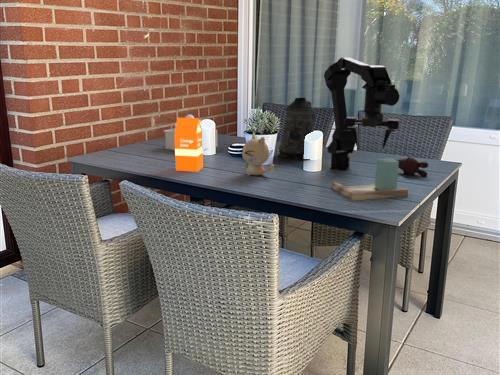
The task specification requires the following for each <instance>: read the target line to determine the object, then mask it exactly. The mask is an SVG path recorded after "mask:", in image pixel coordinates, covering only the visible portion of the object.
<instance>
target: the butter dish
mask: <svg viewBox="0 0 500 375" xmlns="http://www.w3.org/2000/svg"><path fill="white" fill-rule="evenodd" d="M184 118H195V117H194V115H193V114H189V113H188V114H187V115H186V116H184ZM199 121H200V123H201V121H202V120H200V119H199ZM176 123H177V121H176V122H175V123H174V128H170V129H166V130H163V133H164V139H165V140H164V144H165V146H164V147H165V149H166V150H170V149H171V151H175V135H174V133H175V129H176ZM214 129H215V133H216V147H215V148H217V147H218V129H217V128H214Z"/></svg>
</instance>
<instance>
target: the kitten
mask: <svg viewBox="0 0 500 375" xmlns="http://www.w3.org/2000/svg"><path fill="white" fill-rule="evenodd" d="M265 140H266V139H265V137H264V136H262V137H260V138H258V137H257V136H256V133H255V132H253V133H252V134H251V139H249V140H248V141H246V142H245V144H244V145H243V147H242V149H241V153H242V154H241V156H242V159H243V160H244V161H245V166H246V169H245V170H246V171H245V173H246V175H247V176H249V177H250V176H260V175H263V174H268V173H271V171H273V170H274V168H275V165H274V163H271V164H269V166H268V167H267V168H266V169H265V168H264V166H263V165H264V164H265V163H266V162H268V160H269V159H270V158H269V157H270V150H269V146H268V145H267V143H266V141H265Z"/></svg>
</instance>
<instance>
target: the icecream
mask: <svg viewBox="0 0 500 375" xmlns="http://www.w3.org/2000/svg"><path fill="white" fill-rule="evenodd" d="M395 160H396V161H399V165H398V169H400V170H401V171H402V172H403V175H409V176H410V175H415V174H416V173H417V174H418V175H419V176H421V177H427V176H428V172H427V171H425V170H423V169H426V168H428V167H429V163H428V162H426V161H422V162H421V161H420V162H419V161H418V160H417V159H415V158H414V157H411V156H408V157H406V158H400V159H395ZM420 168H421V169H420Z"/></svg>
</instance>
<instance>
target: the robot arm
mask: <svg viewBox="0 0 500 375" xmlns="http://www.w3.org/2000/svg"><path fill="white" fill-rule="evenodd" d="M351 73H354V74H356V75H359V76H360V79H361V80H362V81H363V82H365V84H364V85H362V89H365V94H364V96H365V97H364V108H363V113H362V117H361V119H359V118H358V116H348V113H347V105H346V94H345V88H346V85H347V84H348V78H349V77H350V76H351ZM323 77H324V81H325V86H326V87H327V89H328V90H329V91H330V92H331V101H332V111H333V118H334V128H335V129H334V131H333V133H332V136H331V138H332V141H330V144H329V145H328V146H327V152H328V153H329V154H331V159H330V160H331V161H330V167H329V170H338V171H348V169H349V168H350V167H351V166H350V165H351V164H350V163H351V156H350V154H353V153H354V150H355V146H356V147H358V146H359V126H362V127H363V128H366V127H371V128H376V127H386V128H385V131H384V138H383V143H382V149H385V147H386V145H387V141H388V139H389V137H390V135H391V134H392V132H395V131H396V130H400V127H401V120H400V119H398V118H388V119H387V120H384V112H382V105H385V106H391V107H393V106H395V105H396V104H397V103H398V102H399V101H400V97H401V96H400V92H399V91H398V89H397V88H396V85H395V84H392V80H391V78H390V75H389V73H388V71H387V67H386V66H385V65H376V64H375V65H374V64H367V63H365V62H363V61H360V60H357V59H354V58H353V57H351V56H350V57H346V56H345V57H340V58H339V59H338V60H337V61H335V62H334V63H332V64H331V65H329V67H328V68H327V69H326V70H325V72H324V74H323Z"/></svg>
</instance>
